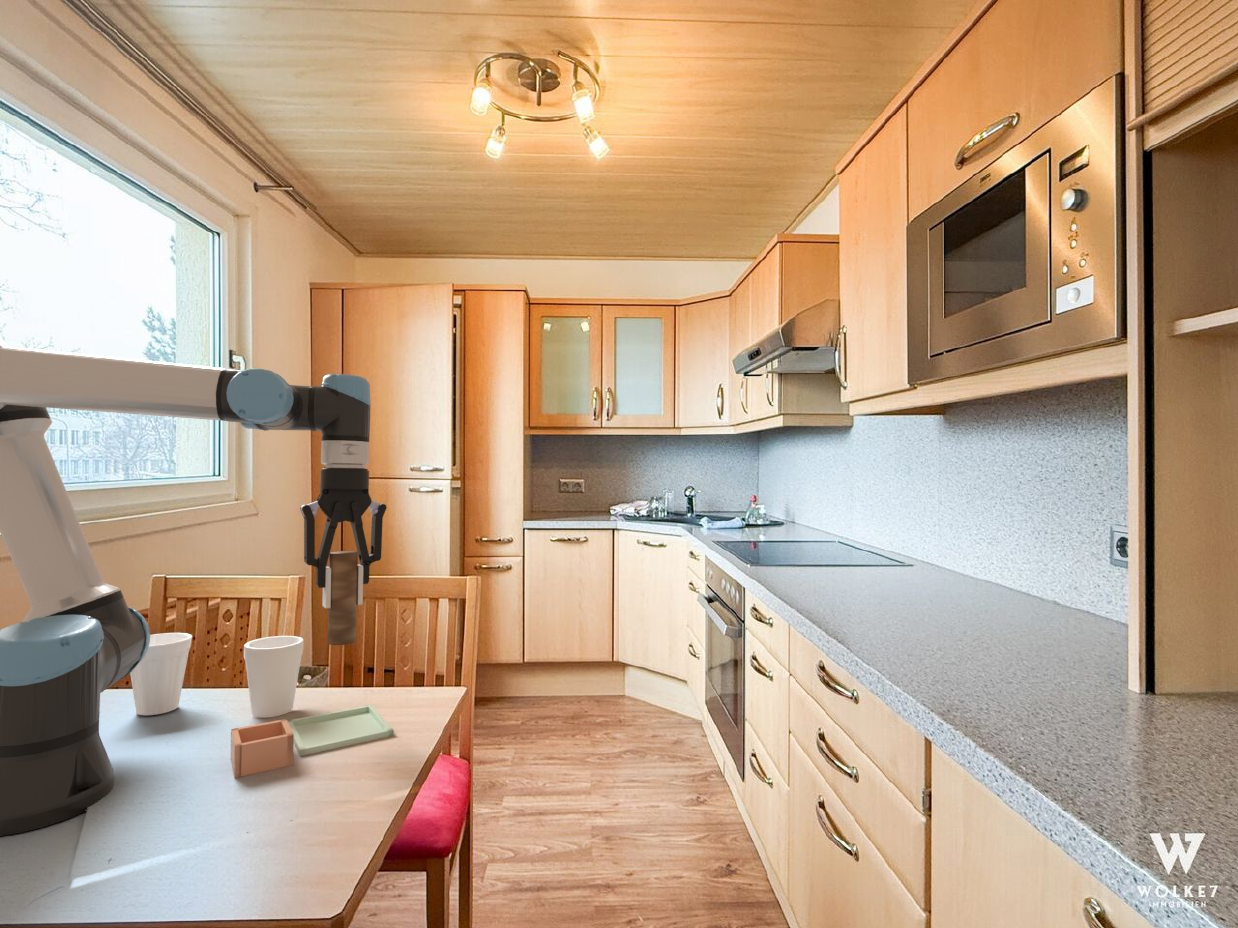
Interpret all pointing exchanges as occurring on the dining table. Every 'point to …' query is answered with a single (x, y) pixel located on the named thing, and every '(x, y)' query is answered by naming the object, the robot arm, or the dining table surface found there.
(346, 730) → the tray
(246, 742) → the orange open box
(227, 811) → the dining table surface
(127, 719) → the dining table surface
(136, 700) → the cup
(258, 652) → the foam cup
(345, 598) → the dowel
